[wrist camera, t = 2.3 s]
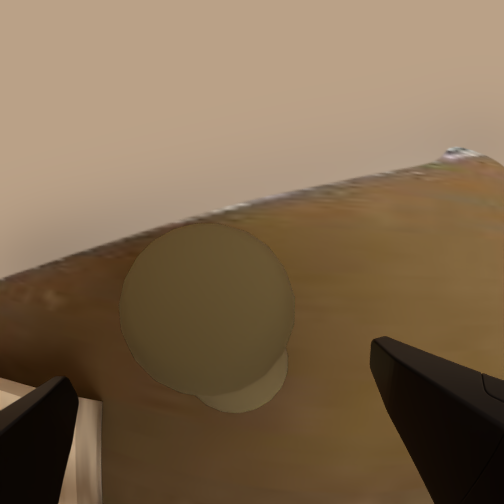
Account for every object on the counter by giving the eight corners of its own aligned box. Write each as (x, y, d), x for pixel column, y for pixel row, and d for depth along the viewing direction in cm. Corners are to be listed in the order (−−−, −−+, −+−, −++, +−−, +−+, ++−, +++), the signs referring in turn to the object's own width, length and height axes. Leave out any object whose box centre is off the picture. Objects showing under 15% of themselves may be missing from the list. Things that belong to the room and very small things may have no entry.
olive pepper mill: (281, 306, 19) (296, 181, 9) (294, 407, 16) (336, 395, 6) (181, 315, 19) (102, 204, 9) (185, 415, 16) (82, 406, 6)
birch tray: (109, 565, 11) (88, 581, 8) (-17, 507, 11) (-42, 508, 8) (102, 401, 16) (77, 396, 14) (-19, 371, 17) (-45, 362, 14)
